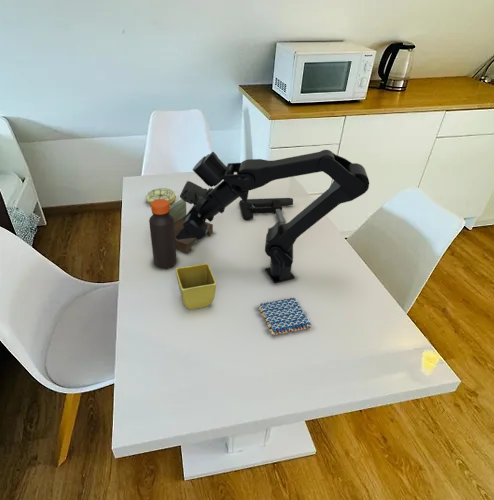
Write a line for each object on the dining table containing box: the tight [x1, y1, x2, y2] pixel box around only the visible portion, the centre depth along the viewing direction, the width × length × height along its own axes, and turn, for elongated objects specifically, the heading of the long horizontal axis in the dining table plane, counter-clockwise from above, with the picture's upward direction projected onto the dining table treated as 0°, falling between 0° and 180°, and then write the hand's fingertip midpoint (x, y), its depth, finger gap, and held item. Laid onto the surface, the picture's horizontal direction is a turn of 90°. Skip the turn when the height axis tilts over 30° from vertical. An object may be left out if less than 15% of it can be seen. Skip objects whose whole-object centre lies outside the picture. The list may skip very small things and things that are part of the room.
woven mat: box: [258, 297, 312, 336], centre depth 97 cm, size 10×11×2 cm
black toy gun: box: [238, 197, 294, 225], centre depth 139 cm, size 3×20×16 cm
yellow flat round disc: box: [145, 187, 176, 206], centre depth 145 cm, size 10×11×4 cm
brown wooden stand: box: [169, 198, 214, 254], centre depth 124 cm, size 12×14×10 cm
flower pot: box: [174, 263, 217, 311], centre depth 99 cm, size 9×9×9 cm
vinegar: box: [148, 199, 178, 270], centre depth 110 cm, size 7×7×20 cm
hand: (180, 229), depth 108 cm, fingers open, 9 cm apart
